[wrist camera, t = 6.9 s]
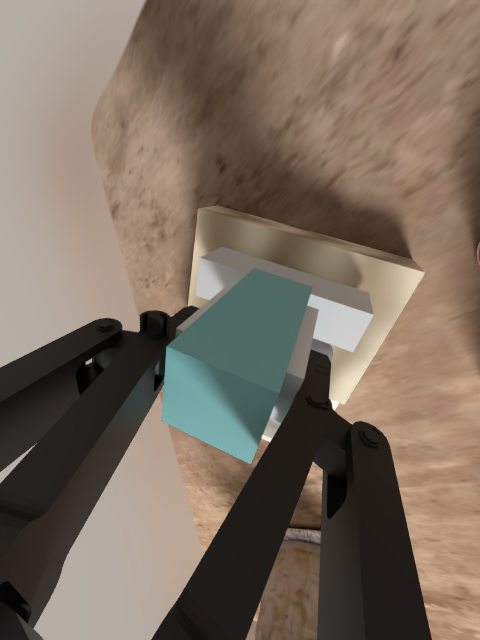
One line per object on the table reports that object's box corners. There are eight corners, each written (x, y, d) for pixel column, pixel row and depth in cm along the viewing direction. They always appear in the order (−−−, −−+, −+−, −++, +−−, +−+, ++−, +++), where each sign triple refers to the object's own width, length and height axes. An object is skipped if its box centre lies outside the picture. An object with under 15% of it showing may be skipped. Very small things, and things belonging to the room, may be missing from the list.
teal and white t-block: (371, 286, 19) (417, 451, 7) (348, 330, 21) (354, 515, 9) (223, 240, 21) (72, 306, 9) (216, 284, 23) (85, 383, 11)
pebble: (339, 334, 22) (339, 355, 19) (325, 363, 24) (322, 387, 21) (301, 320, 23) (296, 339, 20) (290, 350, 24) (283, 371, 22)
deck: (412, 259, 21) (425, 272, 18) (344, 379, 28) (344, 404, 25) (217, 205, 25) (198, 208, 21) (200, 324, 32) (184, 340, 29)
